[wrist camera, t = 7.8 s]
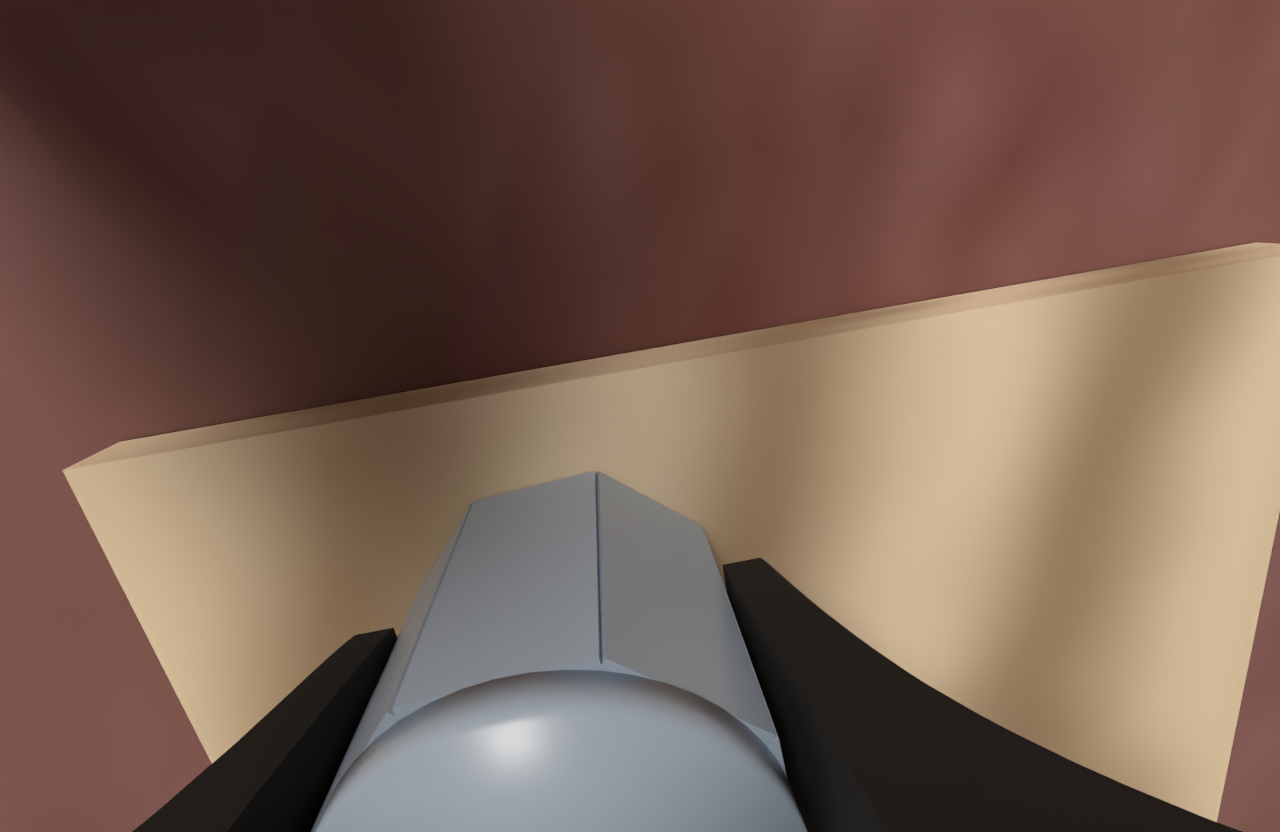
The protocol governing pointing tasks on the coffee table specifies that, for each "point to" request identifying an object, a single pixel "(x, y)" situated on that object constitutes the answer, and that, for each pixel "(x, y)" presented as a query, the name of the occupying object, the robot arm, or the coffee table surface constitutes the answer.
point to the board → (798, 502)
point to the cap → (567, 683)
